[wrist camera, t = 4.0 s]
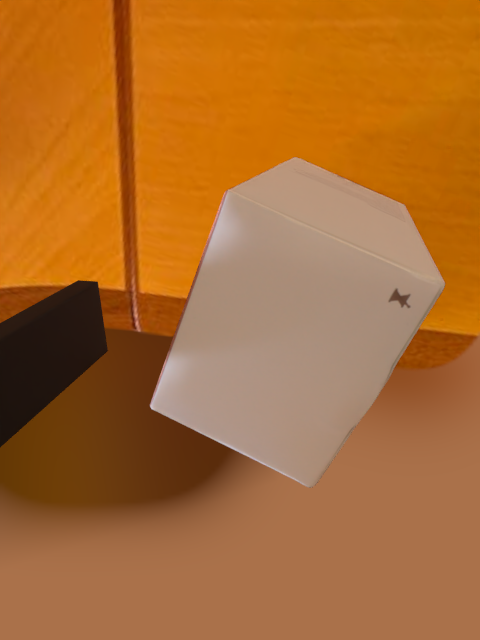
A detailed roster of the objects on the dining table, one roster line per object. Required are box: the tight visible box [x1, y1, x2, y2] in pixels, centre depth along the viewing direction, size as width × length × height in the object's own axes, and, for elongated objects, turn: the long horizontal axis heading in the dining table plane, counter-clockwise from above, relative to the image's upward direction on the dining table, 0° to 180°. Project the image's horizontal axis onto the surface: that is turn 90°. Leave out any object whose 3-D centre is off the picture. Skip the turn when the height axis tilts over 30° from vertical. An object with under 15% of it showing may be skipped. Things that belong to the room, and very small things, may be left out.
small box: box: [150, 157, 445, 488], centre depth 19 cm, size 8×6×13 cm
